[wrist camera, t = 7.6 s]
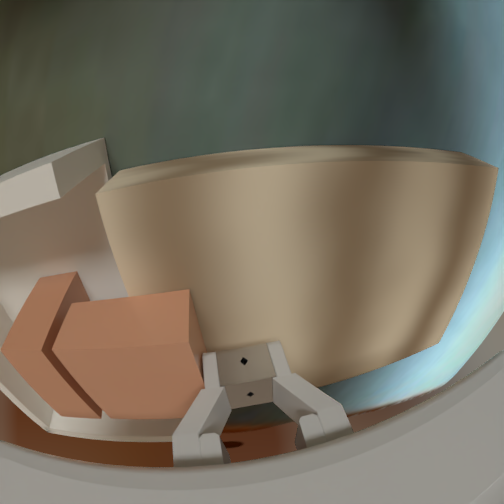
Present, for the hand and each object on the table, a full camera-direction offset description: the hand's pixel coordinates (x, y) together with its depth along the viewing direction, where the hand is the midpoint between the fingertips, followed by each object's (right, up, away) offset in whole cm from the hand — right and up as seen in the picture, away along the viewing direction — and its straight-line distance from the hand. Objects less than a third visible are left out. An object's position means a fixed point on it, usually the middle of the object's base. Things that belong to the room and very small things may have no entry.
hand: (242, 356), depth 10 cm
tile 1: (-7, 0, 0) cm, 7 cm away
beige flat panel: (+4, +3, +4) cm, 7 cm away
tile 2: (-4, 0, +1) cm, 4 cm away
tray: (-10, +1, +2) cm, 11 cm away
